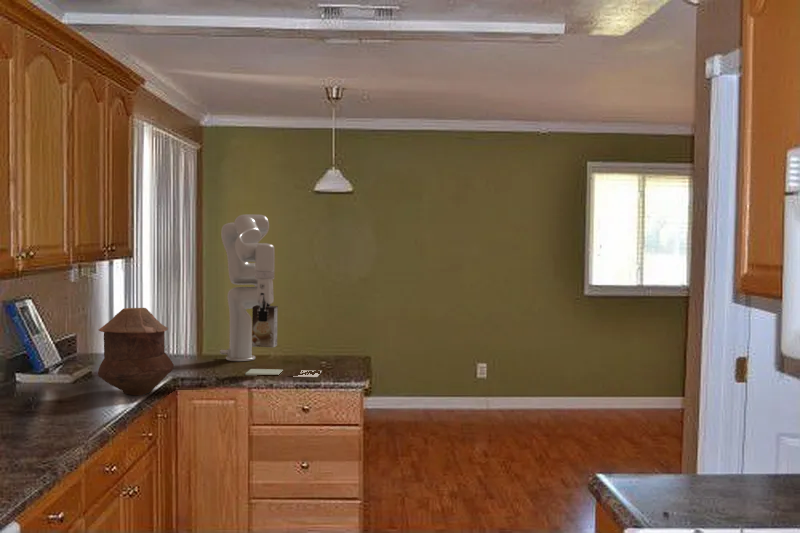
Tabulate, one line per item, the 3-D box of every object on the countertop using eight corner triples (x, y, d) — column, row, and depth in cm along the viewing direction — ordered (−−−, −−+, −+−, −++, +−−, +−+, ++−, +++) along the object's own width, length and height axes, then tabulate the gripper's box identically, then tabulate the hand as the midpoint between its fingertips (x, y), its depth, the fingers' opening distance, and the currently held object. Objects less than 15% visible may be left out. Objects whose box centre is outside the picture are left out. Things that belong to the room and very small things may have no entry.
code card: (286, 376, 342) (286, 376, 342) (292, 370, 356) (292, 370, 356) (317, 377, 342) (317, 376, 342) (322, 371, 356) (322, 370, 356)
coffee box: (251, 347, 345) (251, 306, 344) (255, 344, 352) (255, 305, 351) (274, 347, 344) (274, 307, 344) (277, 345, 351) (278, 305, 350)
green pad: (245, 375, 344) (245, 373, 344) (250, 370, 354) (250, 368, 354) (278, 375, 343) (278, 373, 343) (282, 371, 353) (282, 369, 353)
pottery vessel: (134, 403, 290) (133, 313, 288) (80, 395, 302) (80, 308, 301) (188, 390, 312) (188, 306, 311) (136, 383, 325) (136, 302, 323)
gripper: (270, 276, 338) (269, 323, 339) (278, 274, 355) (278, 318, 356) (250, 276, 338) (250, 322, 339) (259, 273, 355) (259, 317, 356)
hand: (264, 319), depth 348 cm, fingers closed on coffee box, 6 cm apart
